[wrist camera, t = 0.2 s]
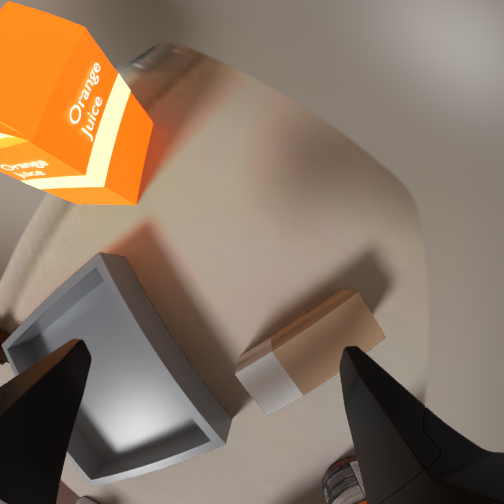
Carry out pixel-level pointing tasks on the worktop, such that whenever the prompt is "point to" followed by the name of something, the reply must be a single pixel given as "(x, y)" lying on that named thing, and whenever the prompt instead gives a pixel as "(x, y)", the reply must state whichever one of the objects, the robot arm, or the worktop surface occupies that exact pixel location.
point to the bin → (122, 376)
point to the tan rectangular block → (307, 351)
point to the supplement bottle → (344, 483)
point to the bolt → (0, 355)
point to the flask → (85, 501)
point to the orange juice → (67, 112)
